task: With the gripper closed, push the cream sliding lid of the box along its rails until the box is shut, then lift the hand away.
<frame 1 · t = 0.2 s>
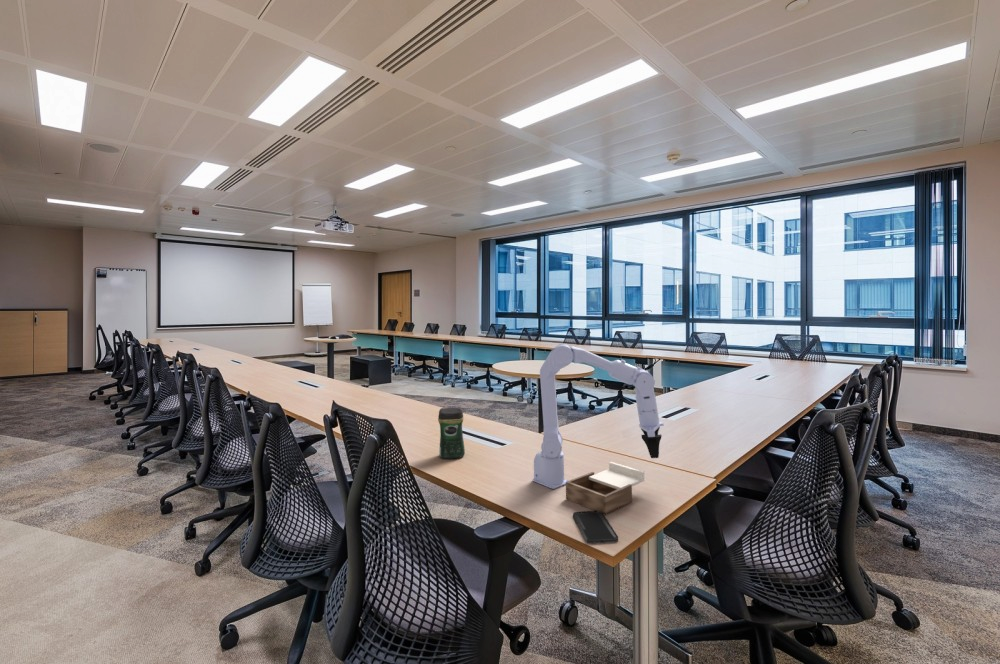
hand: (654, 453, 135), 10 cm above the table, tool pointing down, fingers open, 7 cm apart
lid: (616, 475, 132), point 5 cm above the table, slide at 8.0 cm
phone: (594, 529, 111), on the table
coffee jar: (452, 456, 169), on the table
box: (598, 500, 127), on the table
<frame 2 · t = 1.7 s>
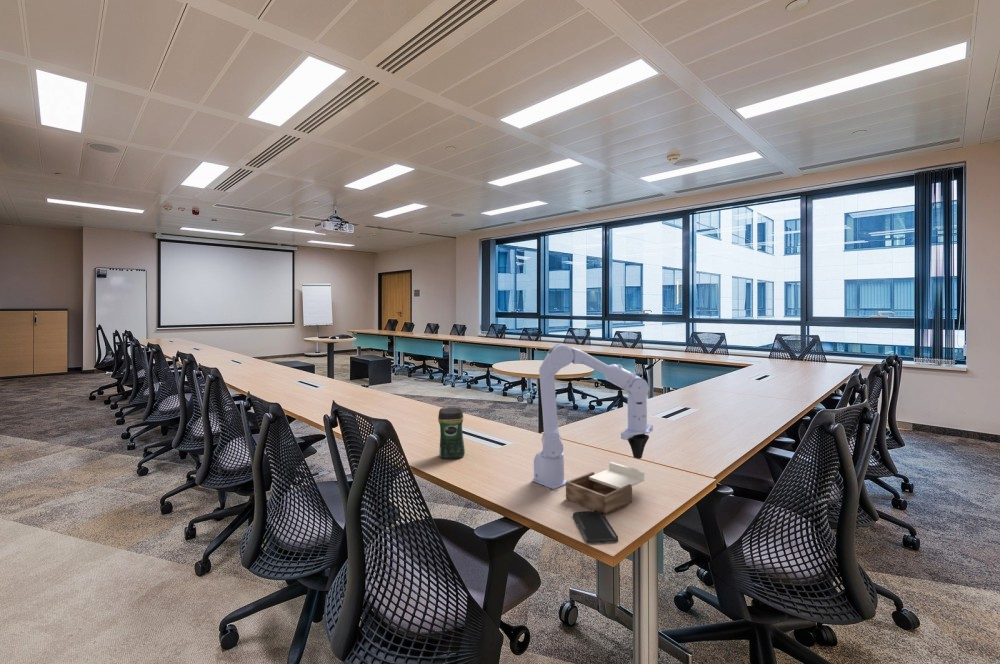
hand: (637, 457, 139), 8 cm above the table, tool pointing down, fingers closed
nothing on the table moved.
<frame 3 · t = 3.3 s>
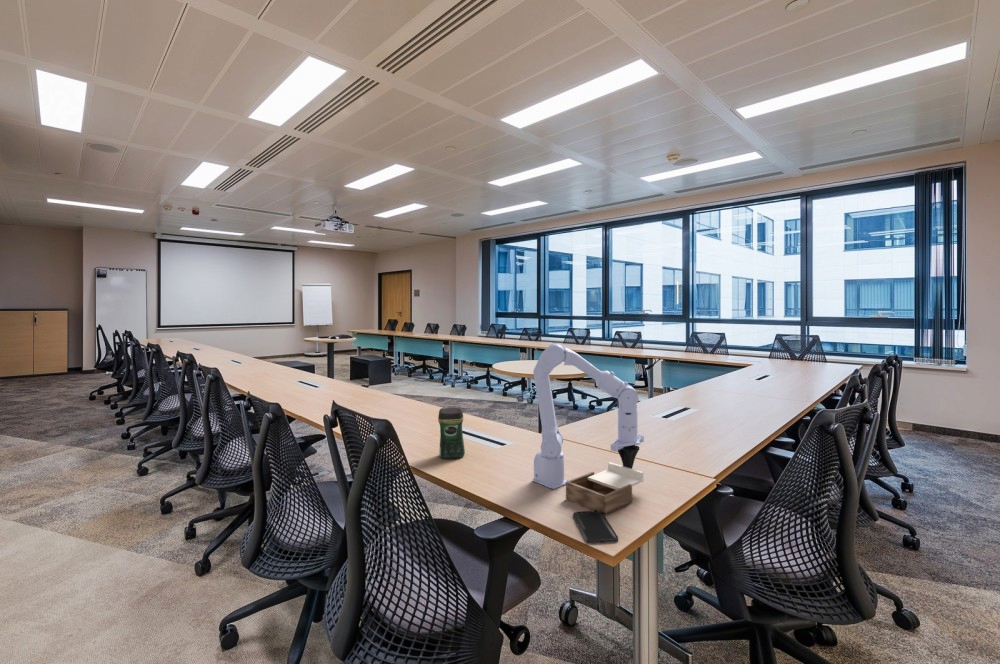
hand: (627, 469, 136), 5 cm above the table, tool pointing down, fingers closed
lid: (615, 476, 132), point 5 cm above the table, slide at 7.5 cm, touching gripper
everything else where it was.
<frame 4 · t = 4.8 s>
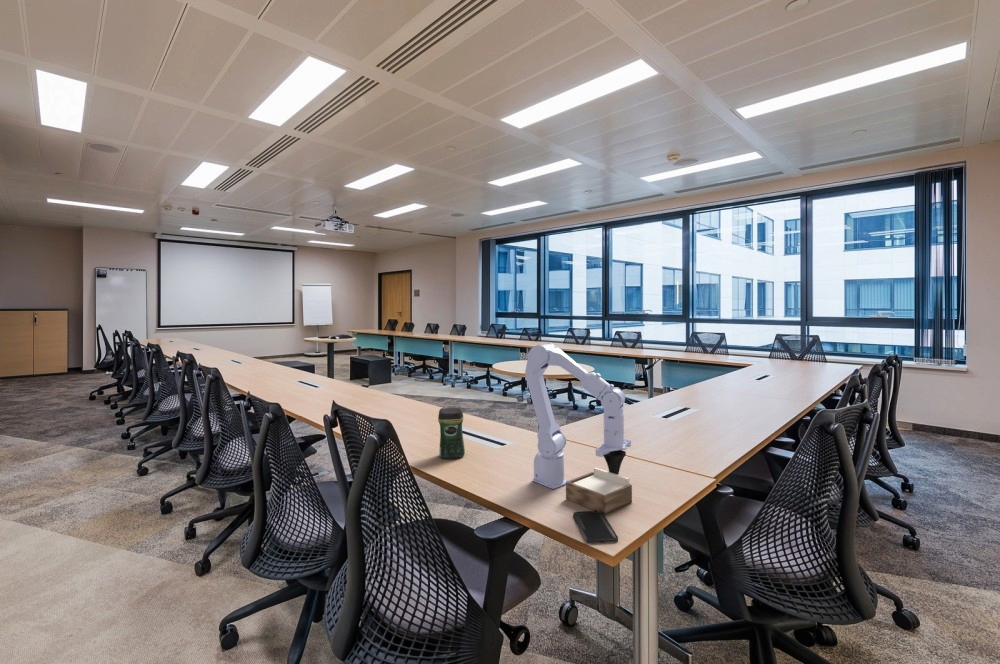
hand: (614, 475, 131), 5 cm above the table, tool pointing down, fingers closed
lid: (600, 482, 127), point 5 cm above the table, slide at 0.4 cm, touching gripper
everything else where it was.
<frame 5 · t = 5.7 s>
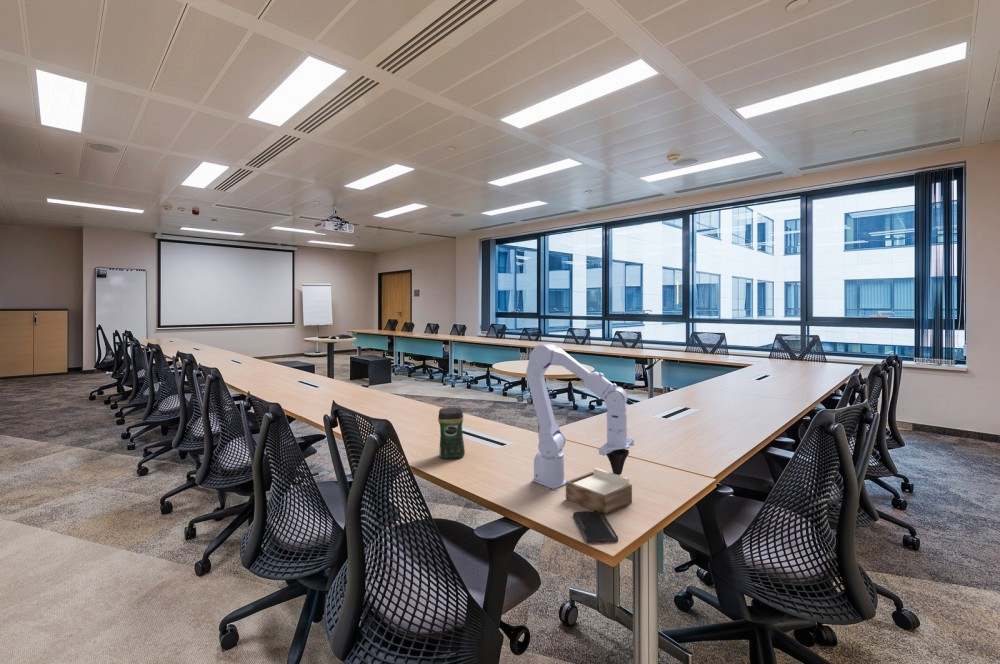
hand: (617, 473, 132), 6 cm above the table, tool pointing down, fingers closed
lid: (600, 482, 127), point 5 cm above the table, slide at 0.3 cm
everything else where it was.
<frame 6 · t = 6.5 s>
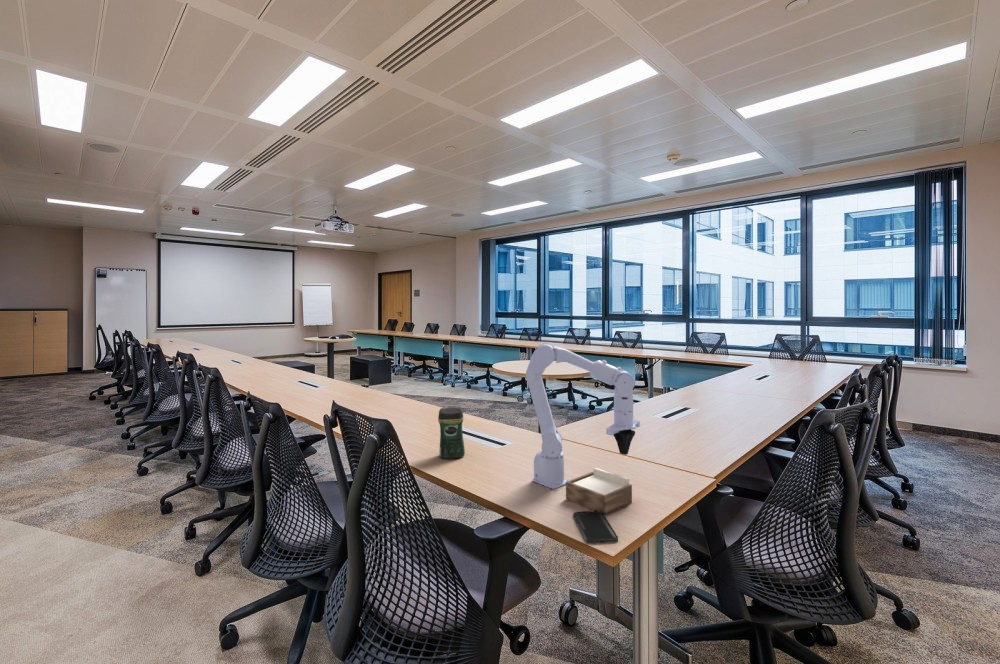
hand: (623, 453, 137), 10 cm above the table, tool pointing down, fingers closed
nothing on the table moved.
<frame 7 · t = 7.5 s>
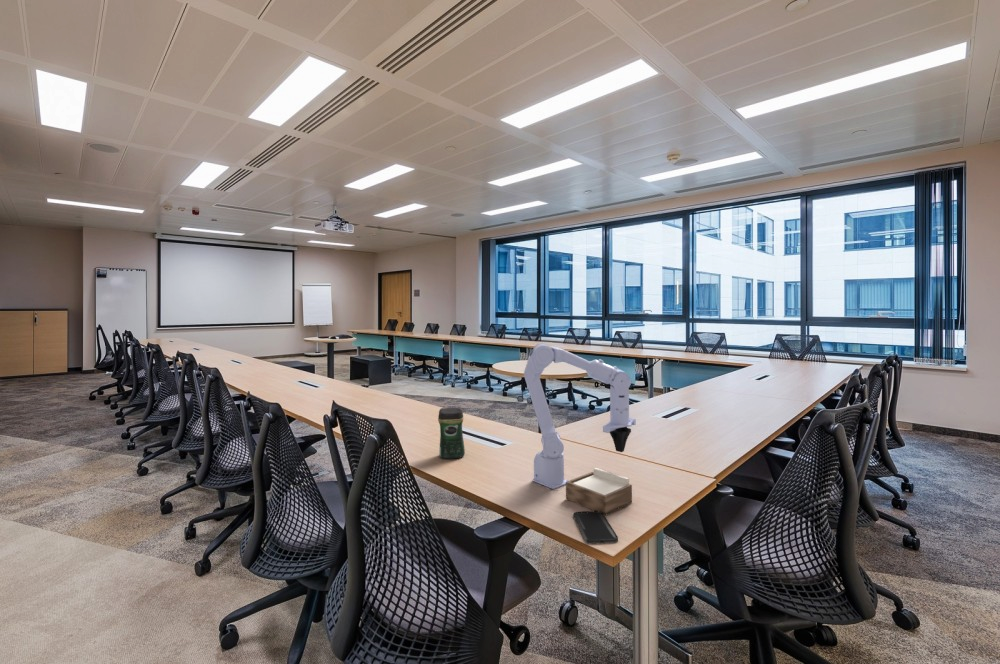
hand: (619, 451, 140), 10 cm above the table, tool pointing down, fingers closed
nothing on the table moved.
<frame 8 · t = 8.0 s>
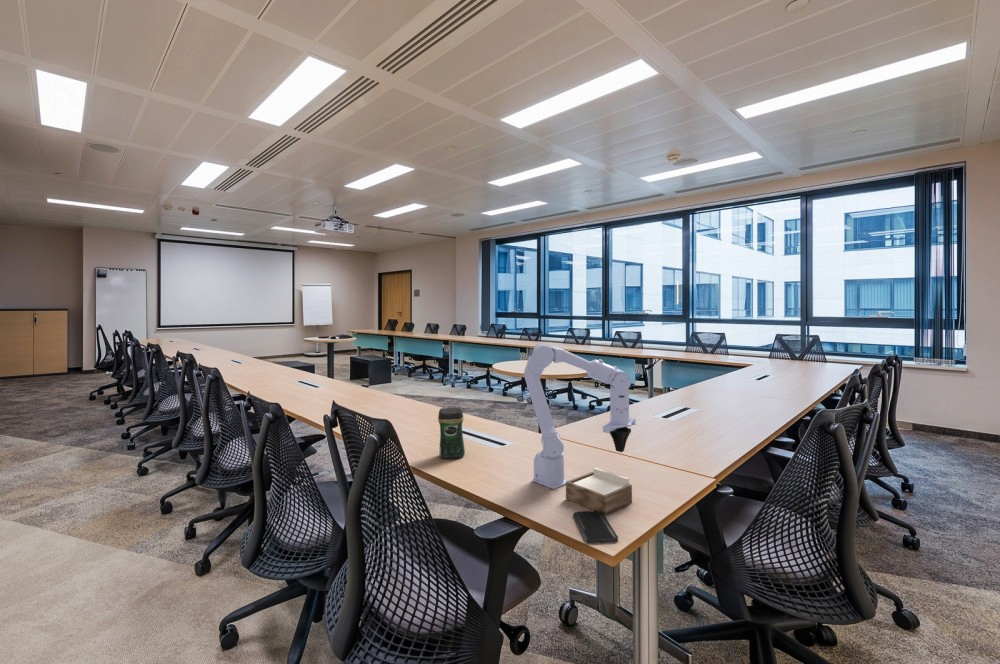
hand: (619, 451, 140), 10 cm above the table, tool pointing down, fingers closed
nothing on the table moved.
at the end: lid slide at 0.3 cm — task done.
